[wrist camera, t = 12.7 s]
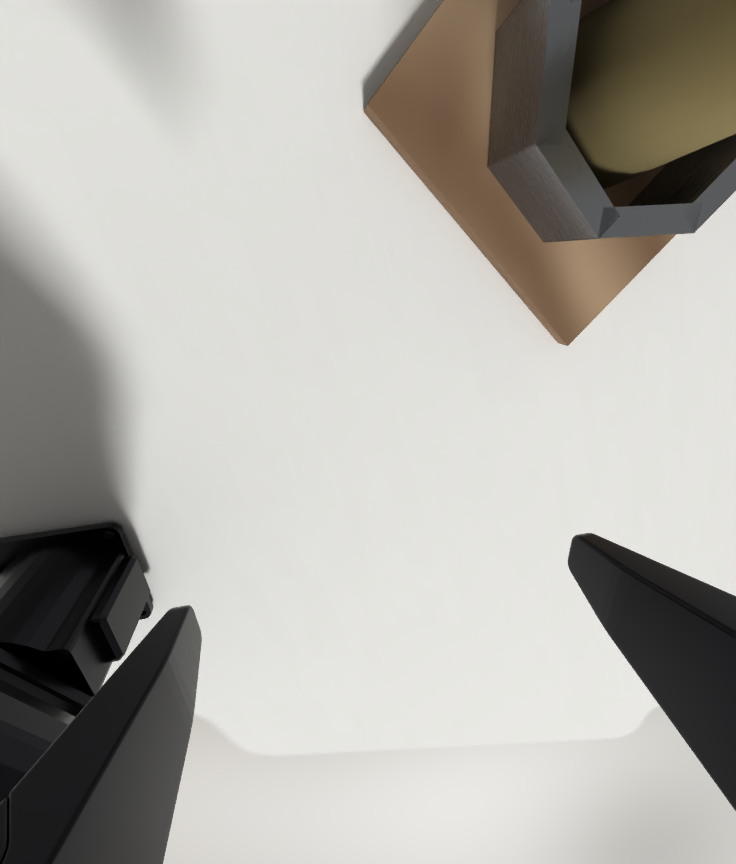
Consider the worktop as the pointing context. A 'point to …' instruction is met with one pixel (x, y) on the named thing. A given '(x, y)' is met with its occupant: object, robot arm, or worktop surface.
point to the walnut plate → (475, 184)
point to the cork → (651, 83)
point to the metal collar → (559, 156)
